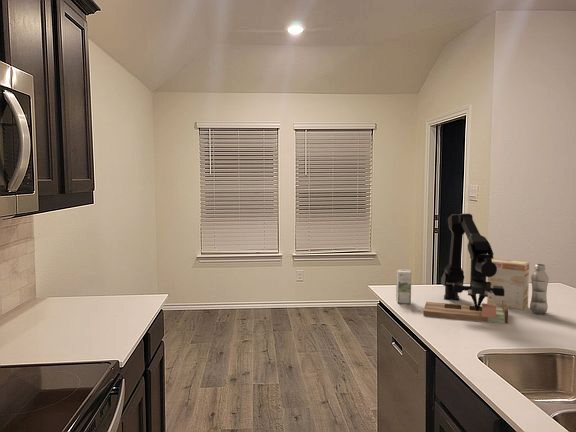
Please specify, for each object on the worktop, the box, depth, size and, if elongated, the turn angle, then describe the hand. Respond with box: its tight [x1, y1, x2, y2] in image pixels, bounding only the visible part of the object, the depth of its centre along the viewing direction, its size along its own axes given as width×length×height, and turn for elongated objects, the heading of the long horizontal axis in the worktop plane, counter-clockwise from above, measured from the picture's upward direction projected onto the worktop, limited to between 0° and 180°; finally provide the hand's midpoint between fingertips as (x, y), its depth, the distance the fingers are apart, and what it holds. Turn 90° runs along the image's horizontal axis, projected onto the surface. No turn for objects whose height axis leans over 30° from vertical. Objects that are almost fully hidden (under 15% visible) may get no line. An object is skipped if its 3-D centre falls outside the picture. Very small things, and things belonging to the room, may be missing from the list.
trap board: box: [422, 301, 509, 324], centre depth 191 cm, size 14×31×5 cm, turn 70°
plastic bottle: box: [529, 263, 550, 314], centre depth 192 cm, size 6×7×20 cm
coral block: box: [481, 302, 497, 318], centre depth 183 cm, size 5×5×4 cm
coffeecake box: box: [486, 258, 530, 311], centre depth 203 cm, size 15×7×20 cm, turn 47°
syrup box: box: [395, 269, 412, 305], centre depth 210 cm, size 6×6×14 cm
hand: (477, 310), depth 186 cm, fingers closed
